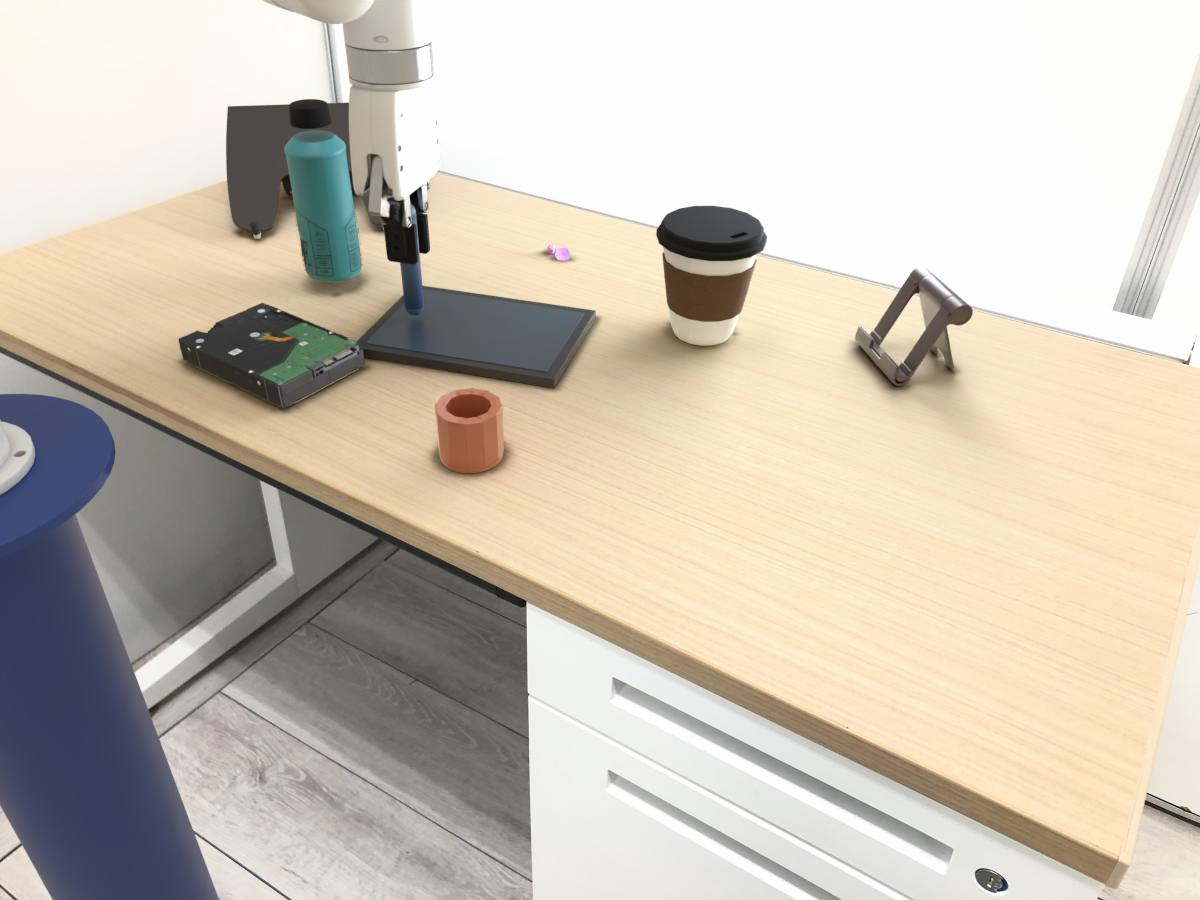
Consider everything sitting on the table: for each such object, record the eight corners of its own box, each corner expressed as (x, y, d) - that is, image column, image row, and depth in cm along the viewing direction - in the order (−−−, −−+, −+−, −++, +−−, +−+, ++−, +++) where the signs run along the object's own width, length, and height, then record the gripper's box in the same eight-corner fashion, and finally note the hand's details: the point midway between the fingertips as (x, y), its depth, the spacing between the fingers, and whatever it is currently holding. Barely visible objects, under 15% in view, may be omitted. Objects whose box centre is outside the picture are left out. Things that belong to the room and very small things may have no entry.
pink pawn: (564, 269, 117) (573, 257, 117) (564, 263, 115) (573, 252, 115) (544, 255, 117) (552, 244, 117) (544, 250, 115) (552, 239, 116)
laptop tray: (237, 276, 123) (221, 227, 115) (238, 146, 133) (223, 93, 125) (419, 265, 127) (415, 217, 119) (405, 139, 137) (401, 87, 129)
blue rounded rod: (420, 319, 99) (409, 207, 92) (402, 317, 99) (390, 205, 92) (428, 311, 100) (418, 200, 93) (410, 308, 100) (399, 197, 94)
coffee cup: (775, 337, 100) (791, 228, 93) (700, 368, 95) (711, 255, 88) (703, 299, 107) (713, 195, 100) (629, 326, 102) (634, 218, 95)
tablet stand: (852, 343, 100) (867, 269, 95) (921, 338, 101) (939, 264, 96) (890, 387, 93) (908, 309, 88) (964, 380, 94) (986, 303, 89)
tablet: (554, 388, 91) (554, 378, 90) (352, 355, 95) (351, 346, 94) (595, 318, 103) (595, 309, 102) (414, 292, 107) (413, 283, 106)
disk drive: (181, 365, 93) (285, 412, 86) (174, 339, 91) (279, 385, 85) (266, 325, 100) (368, 365, 93) (261, 300, 99) (364, 340, 92)
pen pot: (490, 478, 79) (487, 428, 76) (429, 467, 80) (424, 417, 77) (512, 442, 83) (510, 394, 80) (454, 432, 84) (450, 384, 82)
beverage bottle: (376, 282, 109) (355, 101, 97) (327, 301, 105) (299, 114, 93) (342, 265, 112) (317, 89, 101) (293, 283, 108) (262, 101, 97)
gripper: (390, 41, 92) (407, 223, 103) (307, 81, 80) (337, 284, 90) (463, 47, 91) (473, 232, 101) (390, 89, 78) (410, 295, 89)
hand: (409, 255), depth 96 cm, fingers closed on blue rounded rod, 2 cm apart
